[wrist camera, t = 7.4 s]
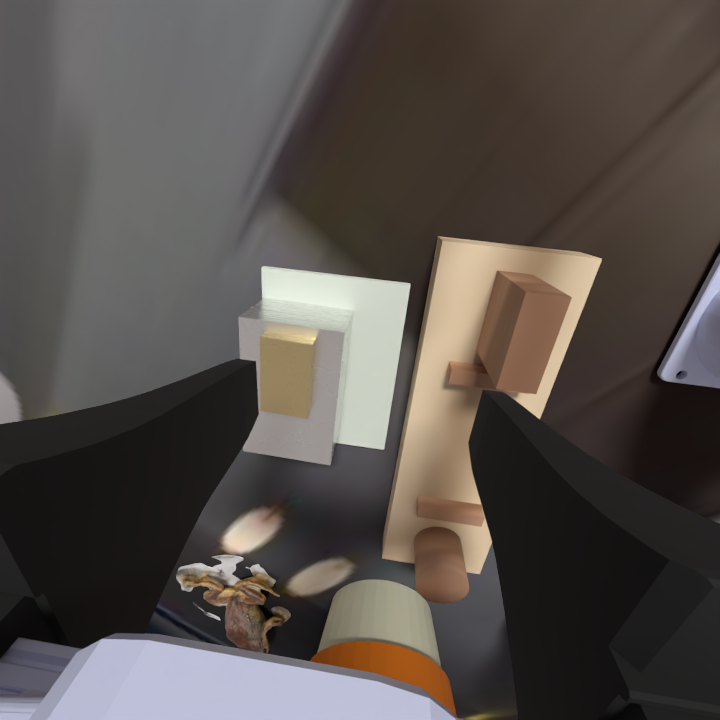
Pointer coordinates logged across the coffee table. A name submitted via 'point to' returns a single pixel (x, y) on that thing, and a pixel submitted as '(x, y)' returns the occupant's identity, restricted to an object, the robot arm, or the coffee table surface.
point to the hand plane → (474, 392)
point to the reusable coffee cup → (385, 636)
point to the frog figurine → (236, 600)
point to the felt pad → (356, 341)
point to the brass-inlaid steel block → (296, 376)
